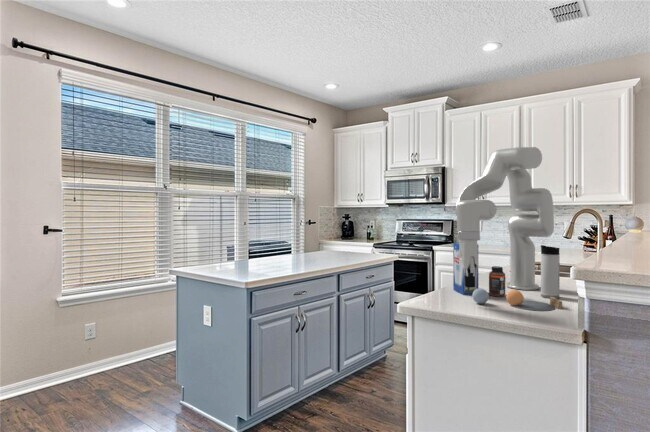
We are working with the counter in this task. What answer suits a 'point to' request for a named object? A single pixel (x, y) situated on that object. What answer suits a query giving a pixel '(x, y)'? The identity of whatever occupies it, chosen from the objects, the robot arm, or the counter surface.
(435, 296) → the counter surface
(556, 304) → the rail
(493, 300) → the counter surface
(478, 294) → the light blue ball
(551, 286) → the travel mug
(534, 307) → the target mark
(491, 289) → the supplement bottle
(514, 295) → the orange ball
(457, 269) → the milk carton
